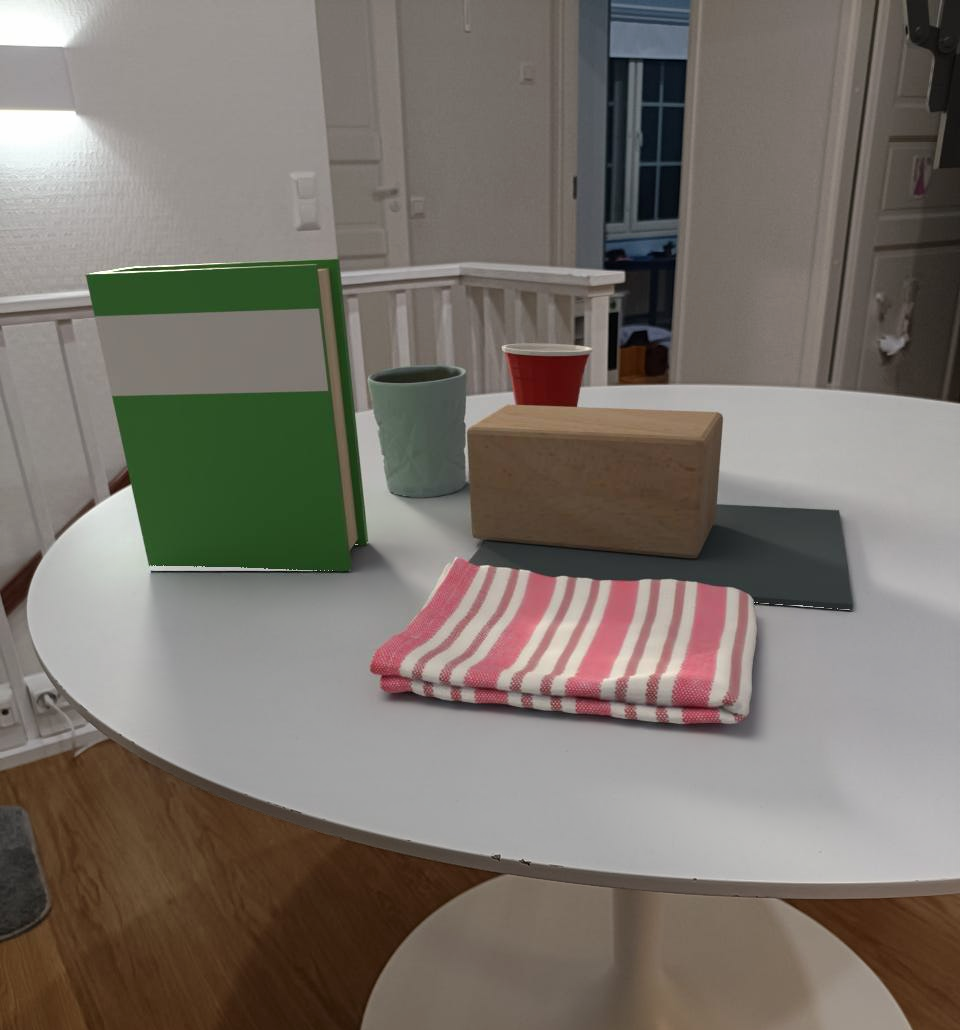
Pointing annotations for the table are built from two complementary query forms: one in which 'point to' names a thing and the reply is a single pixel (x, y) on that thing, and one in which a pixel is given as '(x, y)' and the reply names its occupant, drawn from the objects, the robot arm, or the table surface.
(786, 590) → the mat
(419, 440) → the green ceramic cup
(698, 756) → the table surface
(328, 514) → the hardback book
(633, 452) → the wooden block
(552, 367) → the plastic cup
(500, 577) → the dish towel
